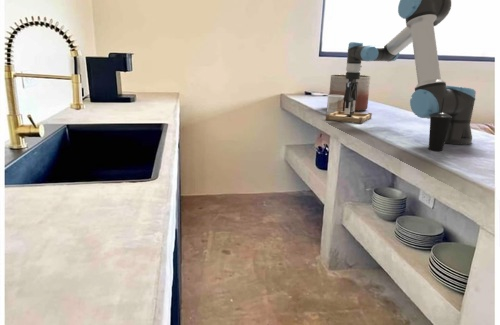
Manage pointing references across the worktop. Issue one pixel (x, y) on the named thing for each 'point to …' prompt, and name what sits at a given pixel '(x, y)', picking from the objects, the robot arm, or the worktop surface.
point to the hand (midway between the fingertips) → (349, 112)
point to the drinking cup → (438, 129)
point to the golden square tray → (341, 117)
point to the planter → (362, 90)
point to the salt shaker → (351, 109)
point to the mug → (335, 103)
